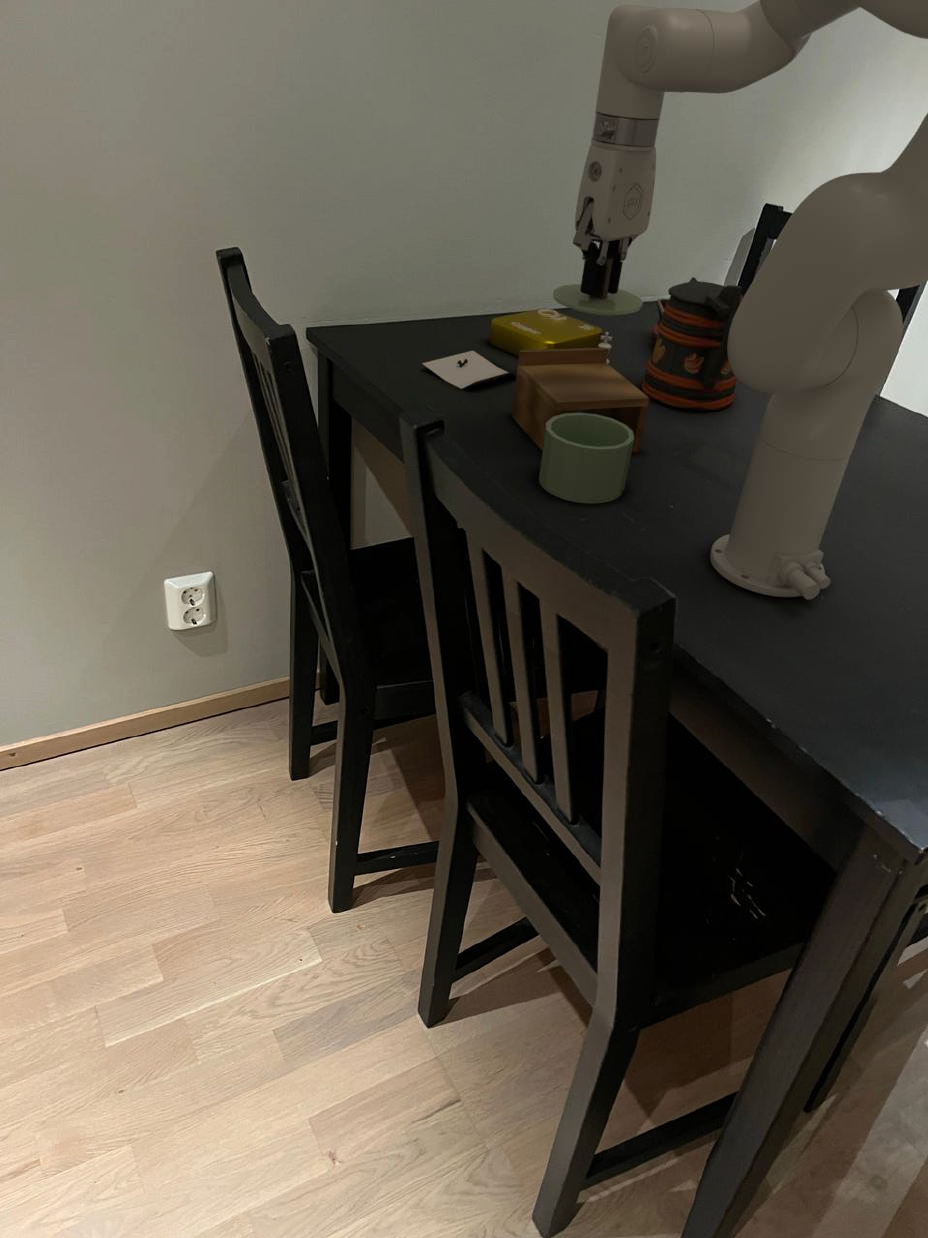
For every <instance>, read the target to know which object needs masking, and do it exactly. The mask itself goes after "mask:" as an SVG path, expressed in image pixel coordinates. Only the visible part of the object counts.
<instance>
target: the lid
mask: <svg viewBox="0 0 928 1238" xmlns="http://www.w3.org/2000/svg"><path fill="white" fill-rule="evenodd" d="M613 260H614V257H612V256H610V255H606V260H605V263H604V264H605V265H608V267H607V273H606V279H605V285H604V291H603V296H602V297H600V298H597V297H594V296H590V295H587V294H584V293H582V292H581V290H580V289H581V283H575V284H574V283H573V284H565V285H561V286H558V287H556V288H554V289H553V291H552V299H553V300H554V301H555V302H556V303H558V304H560V305H562V306H564V307H566V308H569V309H572V310H574V311H577V312H580V313H584V314H589V315H595V316H605V317H606V316H609V317H610V316H620V315H629V314H630V315H631V314H634V313H637V312H640V311H641V310H642V308H643V305H644V301H643V299H642V298H641V297H639V296H638V295H636V294H635V293H631V292H629V291H626V290H624V289H620V288H618V292H617V293H615V294H611V293H608V290H609V284H610V278H611V272H612V266H613Z"/></svg>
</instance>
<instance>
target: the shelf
mask: <svg viewBox="0 0 928 1238" xmlns="http://www.w3.org/2000/svg"><path fill="white" fill-rule="evenodd" d="M608 356H609V353H608V349H607V348H575V349H543V350H520V351H519V357H518V359H517V369H516V370H517V372H516V378H515V379H516V380H515V388H514V396H513V406H512V413H511V418H512V419H513V420H514V421H515V422H516V424H517V425H519V427H520V428H521V429H522V430H523V431H524V432H525V433H526V434H527V436H529V438H530V439H531V440H532V441H533V442H534V443H535V445H536V446H537V447H538V448H539V449H540V450H541V451H542V448H543V441H544V434H545V426H546V422H547V421H548V420H550V419H551V418H552V417H554V416H557V415H561V414H563V411H583V410H589V414H597V415H601V416H605V417H608V418H612V419H615V420H617V421H619V422H621V423H623V424H625V425H626V426H628V427H629V428H630V429H631V430H632V431H633V434H634V443H633V448H632V453H631V454H634V453H639V451H640V446H641V441H642V437H643V432H644V426H645V423H646V422H645V421H646V416H647V412H648V407H649V402H650V396H648V395H646V394H645V393H643V391H642V390H640V389H639V388H638V387H637V386H636V385H634V384H633V383H632V382H630V381H629V380H628V379H627V378H626V377H625V376H623V375H622V374H621V373H619V372H618V371H617V370H615V369H614V368H613V367H612V366H611V365H610V364H609V363H608V364H607V363H606V361H607V359H608Z"/></svg>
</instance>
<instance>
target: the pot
mask: <svg viewBox="0 0 928 1238" xmlns="http://www.w3.org/2000/svg"><path fill="white" fill-rule="evenodd" d="M633 443H634V434H633V431H632V430H631V429H630V428H629V427H628V426H626V425H625V424H623V423H621V422H619V421H617V420H615V419H612V418H608V417H605V416H601V415H597V414H590V413H587V412H566V413H562V414H561V415H557V416H554V417H552V418H551V419H550V420H548V421H547V422H546V426H545V434H544V441H543V448H542V450H541V455H540V463H539V471H538V482H539V485H540V487H542V489H544V490H545V491H546V492H547V493H549V494H550V495H552V496H554V497H556V498H559V499H562V500H564V501H568V502H574V503H578V504H591V505H592V504H593V505H594V504H603V503H609V502H612V501H615V500H617V499H618V498H620V497H621V496H622V494H623V493H624V491H625V488H626V483H627V478H628V474H629V468H630V463H631V457H632V454H633V453H632V448H633Z"/></svg>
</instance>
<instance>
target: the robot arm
mask: <svg viewBox="0 0 928 1238" xmlns="http://www.w3.org/2000/svg"><path fill="white" fill-rule="evenodd" d="M858 9H862V10H864V11H865V12H867V13H869V14H871V15H872V16H874V17H876V18H877V19H879V21H882V22H883V23H885V24H887V25H888V26H890V27H892V28H893V29H896V30H897V31H899V32H902V33H904V34H907V35H909V36H912V37H915V38H919V39H924V40H928V0H757V1H754V2H753V3H752V4H750V5H748V6H746V7H744V8H742V9H740V10H737V11H735V12H730V11H728V12H727V11H721V10H712V9H711V10H710V9H698V8H686V7H685V8H683V7H654V6H653V7H652V6H646V5H633V4H623V5H622V4H621V5H619V6H616V7H615V8H614V9H613V10H612V11H611V13H610V15H609V17H608V21H607V26H606V34H605V40H604V47H603V55H602V62H601V69H600V75H599V83H598V89H597V96H596V103H595V111H594V118H593V123H592V124H593V125H592V132H591V139H590V145H589V148H588V152H587V154H586V159H585V163H584V165H583V171H582V176H581V180H580V185H579V189H578V195H577V201H576V207H575V216H574V230H575V234H574V237H573V240H572V243H573V245H574V246H575V247H576V248H578V249H579V250H580V251H581V253H582V257H581V258H582V261H584V265H583V269H582V276H581V277H582V278H581V283H580V284H581V289H580V290H581V292H582V293H584V294H587V295H590V296H594V297H597V298H600V297H602V296H603V291H604V285H605V279H606V273H607V267H608V265H605V264H604V263H605V260H606V255H610V256H612V257H614V260H613V266H612V272H611V278H610V284H609V290H608V293H611V294H615V293H617V292H618V289H619V287H620V281H621V275H622V269H623V264H624V261H625V260H626V259H627V256H628V250H629V248H630V246H631V245H632V243H633V242H634V241H635V240H637V238H639V236H641V235H643V234H644V233H645V232H646V231H647V230H648V228H649V224H650V219H651V213H652V207H653V199H654V191H655V183H656V173H657V147H656V143H657V137H658V132H659V131H658V130H659V125H660V120H661V114H662V108H663V103H664V98H665V93H680V94H681V93H698V94H699V93H701V94H718V95H719V94H728V93H732V92H737V91H739V90H741V89H745V88H747V87H749V86H750V85H753V84H755V83H757V82H760V81H761V80H763V79H765V78H767V77H769V76H771V75H773V74H776V73H777V72H779V71H781V70H783V69H784V68H785V67H787V66H788V65H790V64H791V63H792V62H793V61H794V60H795V59H796V58H797V57H798V56H799V54H800V53H801V51H802V50H803V49H804V48H805V46H807V44H808V42H809V40H810V38H811V36H812V34H813V33H815V32H817V31H819V30H821V29H823V28H824V27H826V26H828V25H830V24H832V23H834V22H836V21H838V20H839V19H841V18H842V17H844V16H847V15H848V14H850V13H852V12H854V11H856V10H858ZM597 243H599V244H598V245H599V246H598V245H597ZM926 282H928V112H927V113H926V114H925V116H924V117H923V119H922V121H921V123H920V125H919V127H918V128H917V129H916V132H915V133H914V135H913V136H912V137H911V139H910V140H909V141H908V143H907V145H906V146H905V147H904V149H903V150H902V152H901V153H900V154H899V156H897V158H896V160H895V161H894V162H893V163H892V164H891V165H890V166H889V167H887V168H886V169H884V170H883V171H876V172H874V171H873V172H856V173H854V172H853V173H847V174H843V175H839V176H837V177H834V178H832V179H829V180H828V181H826V182H824V183H822V184H821V185H820V186H818V187H816V188H815V189H814V190H812V191H811V193H810V194H808V195H807V196H806V197H805V198H804V199H803V200H802V201H801V202H800V204H799V205H798V206H797V207H796V208H795V209H794V211H793V212H792V214H791V215H790V217H789V218H788V220H787V222H786V223H785V225H784V226H783V228H782V230H781V231H780V233H779V235H778V236H777V239H776V240H775V242H774V244H773V245H772V247H771V249H770V250H769V252H768V254H767V256H766V257H765V260H764V261H763V263H762V265H761V266H760V268H759V270H758V272H757V273H756V275H755V277H754V278H753V280H752V282H751V283H750V285H749V287H748V288H747V291H746V293H745V294H744V295H743V296H744V298H743V300H742V301H741V303H740V305H739V307H738V309H737V311H736V313H735V316H734V318H733V321H732V324H731V327H730V331H729V336H728V345H727V353H728V359H729V364H730V367H731V370H732V372H733V374H734V375H735V377H736V378H737V381H738V382H739V383H740V384H741V385H742V386H744V387H746V388H747V389H749V390H752V391H754V392H757V393H762V394H771V397H770V399H769V401H768V403H767V405H766V408H765V411H764V412H763V415H762V419H761V421H760V422H761V423H760V426H759V430H758V431H757V435H756V439H755V443H754V446H753V450H752V454H751V457H750V460H749V465H748V468H747V471H746V475H745V479H744V482H743V486H742V489H741V493H740V496H739V500H738V504H737V507H736V511H735V514H734V518H733V522H732V525H731V529H730V533H729V534H725V535H723V536H721V537H718V538H717V539H716V540H715V541H714V542H713V544H712V546H711V549H710V553H709V560H710V563H711V565H712V567H713V568H714V570H715V571H717V573H718V574H719V575H721V577H723V578H724V579H726V580H727V581H729V582H731V583H732V584H733V585H736V586H738V587H739V588H742V589H745V590H747V591H750V592H753V593H756V594H761V595H764V596H771V597H778V598H797V597H803V598H804V599H806V600H808V601H810V600H813V599H815V598H817V596H818V595H819V593H820V592H821V590H824V589H826V588H828V587H829V586H830V585H831V581H832V580H831V579H830V577H829V576H827V574H826V571H825V570H826V569H825V567H824V565H823V563H822V560H823V558H824V552H823V551H822V550H820V545H821V543H822V540H823V536H824V535H825V530H826V528H827V524H828V521H829V519H830V516H831V513H832V511H833V508H834V504H835V502H836V499H837V496H838V493H839V491H840V488H841V484H842V481H843V479H844V476H845V473H846V470H847V467H848V464H849V461H850V458H851V455H852V453H853V452H854V448H855V446H856V443H857V440H858V437H859V434H860V431H861V429H862V426H863V423H864V421H865V419H866V416H867V413H868V411H869V409H870V407H871V404H872V403H873V401H874V398H875V397H876V395H877V393H878V390H879V389H880V387H881V385H882V383H883V382H884V380H885V378H886V376H887V375H888V373H889V371H890V369H891V368H892V366H893V363H894V362H895V359H896V358H897V357H896V356H897V354H898V352H899V349H900V346H901V343H902V338H903V333H904V332H903V331H904V321H903V320H904V319H903V315H902V311H901V307H900V306H899V303H898V301H897V300H896V299H895V297H894V295H892V293H890V292H889V291H895V290H903V289H909V288H914V287H917V286H919V285H922V284H924V283H926Z"/></svg>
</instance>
